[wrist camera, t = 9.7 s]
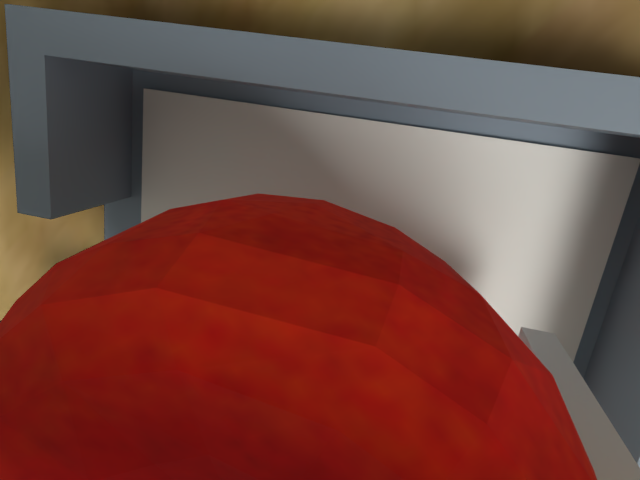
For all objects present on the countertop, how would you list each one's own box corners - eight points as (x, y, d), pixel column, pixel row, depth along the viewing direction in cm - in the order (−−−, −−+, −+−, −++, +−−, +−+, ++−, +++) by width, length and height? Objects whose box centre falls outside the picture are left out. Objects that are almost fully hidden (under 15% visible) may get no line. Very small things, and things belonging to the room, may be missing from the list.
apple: (237, 483, 14) (35, 891, 7) (128, 215, 12) (-303, 366, 5) (544, 448, 12) (762, 1032, 4) (462, 109, 10) (585, 95, 3)
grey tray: (123, 36, 15) (4, 3, 10) (700, 107, 12) (853, 102, 8) (120, 401, 19) (34, 484, 14) (553, 514, 16) (602, 658, 12)
